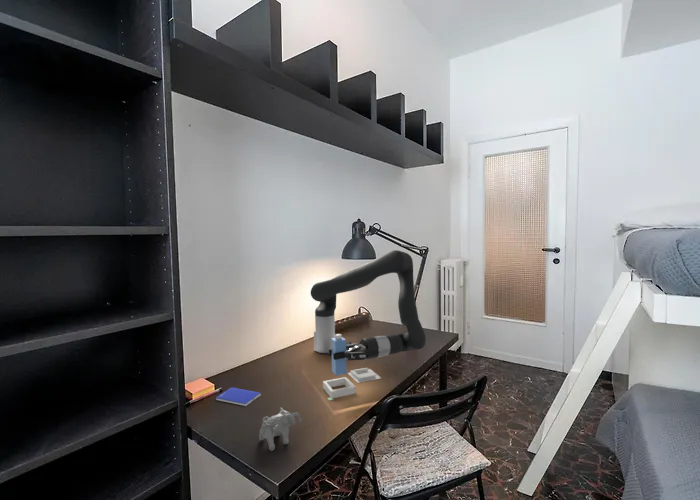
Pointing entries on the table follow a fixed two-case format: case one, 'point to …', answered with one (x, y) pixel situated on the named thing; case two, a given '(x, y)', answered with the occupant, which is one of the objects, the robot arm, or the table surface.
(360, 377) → the white square tray
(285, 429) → the elephant statuette
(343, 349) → the blue square bottle
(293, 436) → the table surface
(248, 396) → the hard drive
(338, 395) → the frame
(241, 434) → the table surface
